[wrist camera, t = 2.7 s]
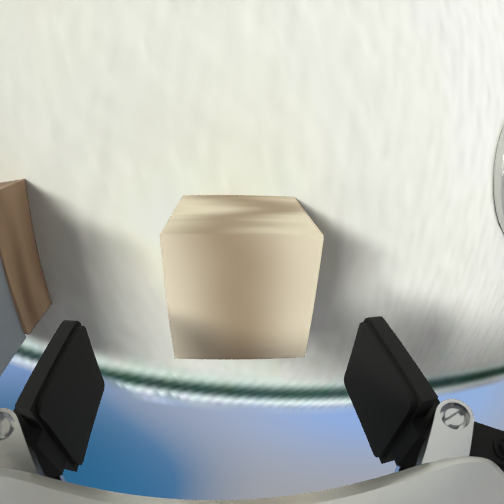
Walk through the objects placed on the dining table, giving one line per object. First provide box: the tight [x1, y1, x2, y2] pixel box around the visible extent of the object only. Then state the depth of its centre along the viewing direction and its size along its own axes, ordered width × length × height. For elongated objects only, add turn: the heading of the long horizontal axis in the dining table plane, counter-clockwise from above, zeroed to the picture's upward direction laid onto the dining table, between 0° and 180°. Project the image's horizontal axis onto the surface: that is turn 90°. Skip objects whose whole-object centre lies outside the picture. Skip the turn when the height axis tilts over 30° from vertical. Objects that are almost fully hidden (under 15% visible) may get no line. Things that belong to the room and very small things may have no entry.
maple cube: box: [160, 195, 324, 359], centre depth 15 cm, size 6×6×6 cm
